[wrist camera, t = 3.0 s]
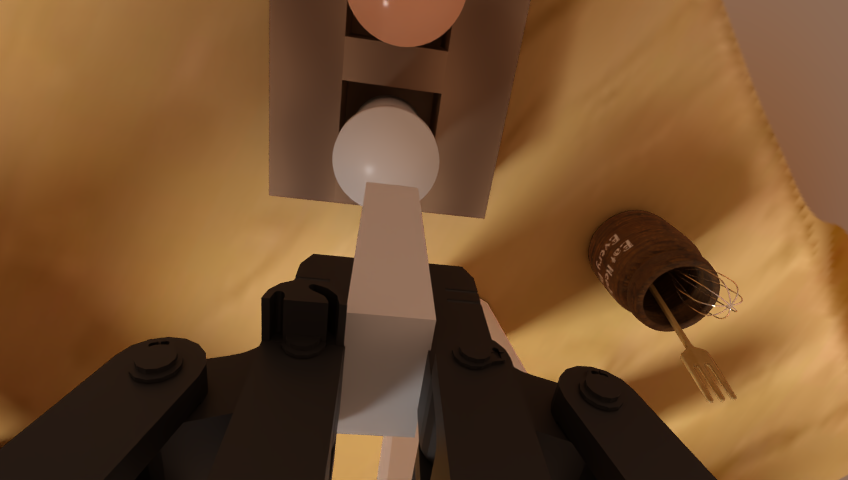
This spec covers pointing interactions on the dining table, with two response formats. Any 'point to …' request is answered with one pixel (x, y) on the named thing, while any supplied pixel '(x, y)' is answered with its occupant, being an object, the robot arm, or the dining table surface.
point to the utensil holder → (660, 282)
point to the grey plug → (385, 148)
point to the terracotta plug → (406, 19)
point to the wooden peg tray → (390, 75)
